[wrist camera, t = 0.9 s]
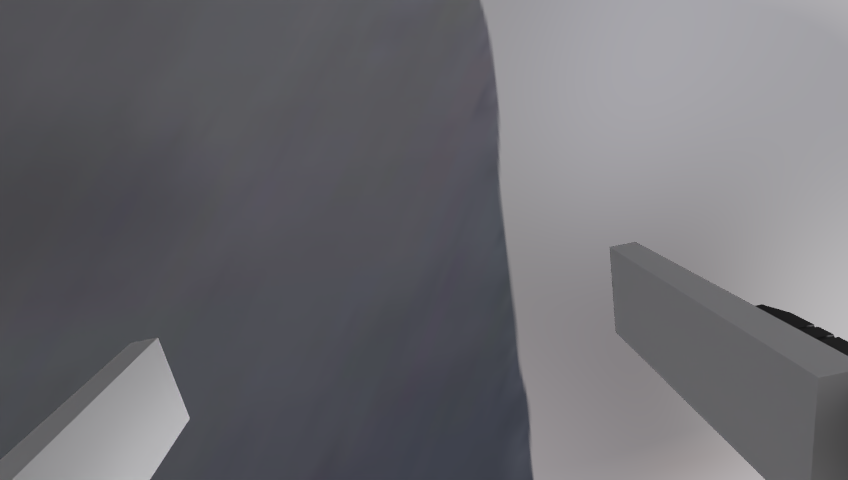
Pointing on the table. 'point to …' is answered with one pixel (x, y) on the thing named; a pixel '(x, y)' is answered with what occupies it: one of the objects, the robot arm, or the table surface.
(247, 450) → the table surface
